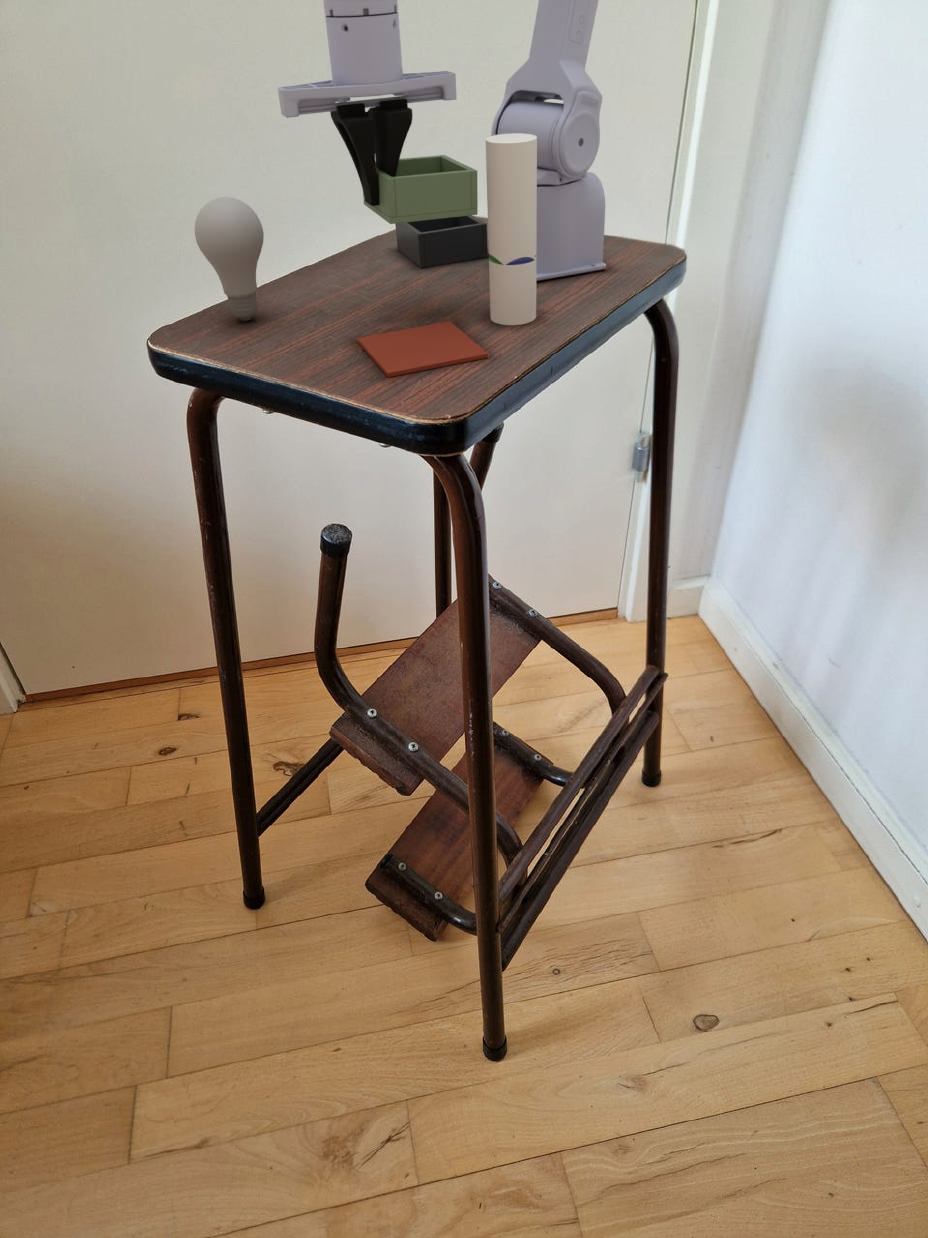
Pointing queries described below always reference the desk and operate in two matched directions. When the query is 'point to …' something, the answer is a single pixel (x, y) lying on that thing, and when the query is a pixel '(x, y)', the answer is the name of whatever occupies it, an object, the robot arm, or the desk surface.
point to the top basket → (426, 190)
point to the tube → (512, 226)
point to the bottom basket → (442, 240)
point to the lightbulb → (232, 250)
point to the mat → (421, 348)
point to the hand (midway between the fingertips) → (379, 202)
